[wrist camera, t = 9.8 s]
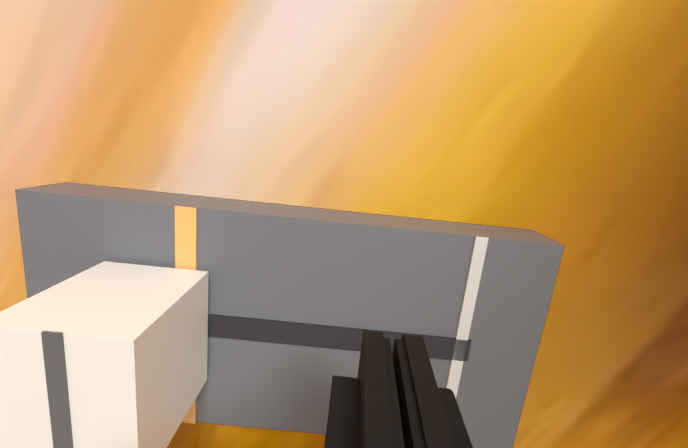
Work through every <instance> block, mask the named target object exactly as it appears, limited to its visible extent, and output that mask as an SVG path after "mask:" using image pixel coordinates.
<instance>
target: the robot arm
mask: <svg viewBox="0 0 688 448" xmlns="http://www.w3.org/2000/svg"><path fill="white" fill-rule="evenodd" d="M324 448H473V446H472V444H471V441H470V438H469V435H468V432H467V429H466V427H465V424H464V421H463V418H462V415H461V412H460V409H459V407H458V404H457V401H456V398H455V395H454V393H453V391H452V390H451V389H448V388H440V387H438V386H437V383H436V379H435V376H434V373H433V369H432V366H431V363H430V359H429V356H428V352H427V349H426V346H425V342H424V339H423V337H422V336H415V335H406V334H403V335H402V337H401V339H395V340H394V345H393V352H392V350H391V343H390V338H386V337H383V332H379V331H370V330H363V336H362V344H361V352H360V360H359V367H358V375H357V378H353V377H344V376H335V375H333V377H332V385H331V394H330V402H329V411H328V420H327V428H326V437H325V445H324Z"/></svg>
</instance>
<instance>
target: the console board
mask: <svg viewBox="0 0 688 448" xmlns="http://www.w3.org/2000/svg"><path fill="white" fill-rule="evenodd" d="M15 193H16V202H17V210H18V219H19V228H20V237H21V245H22V254H23V263H24V271H25V280H26V289H27V298H30V297H32V296H34V295H36V294H38V293H40V292H42V291H44V290H46V289H48V288H50V287H52V286H54V285H56V284H58V283H61V282H63V281H65V280H67V279H69V278H71V277H73V276H75V275H77V274H79V273H81V272H83V271H85V270H87V269H89V268H91V267H93V266H96V265H98V264H100V263H102V262H104V261H107V262H117V263H127V264H137V265H147V266H157V267H167V268H177V269H188V270H198V271H208V272H209V276H208V350H207V381H206V382H205V384H204V386H203V387H202V389H201V391H200V392H199V394H198V396H197V397H196V399H195V401H194V402H193V404H192V406H191V408H190V409H189V411H188V413H187V414H186V416H185V418H184V419H183V421H182V423H190V424H195V423H196V422H199V423H210V424H220V425H231V426H242V427H252V428H263V429H274V430H284V431H295V432H306V433H316V434H326V428H327V420H328V411H329V402H330V394H331V385H332V377H333V375H335V376H344V377H353V378H357V375H358V367H359V360H360V352H361V344H362V336H363V330H370V331H379V332H383V337H386V338H390V343H391V350H392V352H393V345H394V340H395V339H401V337H402V335H403V334H406V335H415V336H422V337H423V339H424V342H425V346H426V349H427V352H428V356H429V359H430V363H431V366H432V369H433V373H434V376H435V379H436V383H437V386H438V387H440V388H448V389H451V390H452V391H453V393H454V395H455V398H456V401H457V404H458V407H459V409H460V412H461V415H462V418H463V421H464V424H465V427H466V429H467V432H468V435H469V438H470V441H471V444H472V446H473V448H513V444H514V440H515V436H516V432H517V429H518V425H519V421H520V417H521V413H522V409H523V405H524V401H525V397H526V394H527V390H528V386H529V382H530V378H531V374H532V370H533V366H534V362H535V359H536V355H537V351H538V347H539V343H540V339H541V335H542V331H543V327H544V324H545V320H546V316H547V312H548V308H549V304H550V300H551V296H552V292H553V289H554V285H555V281H556V277H557V273H558V269H559V265H560V261H561V257H562V254H563V250H564V246H565V245H563V244H561V243H559V242H557V241H554V240H552V239H550V238H548V237H546V236H544V235H542V234H540V233H537V232H535V231H533V230H528V229H518V228H508V227H498V226H488V225H479V224H469V223H459V222H449V221H439V220H430V219H420V218H410V217H400V216H390V215H381V214H371V213H361V212H351V211H341V210H332V209H322V208H312V207H302V206H292V205H283V204H273V203H263V202H253V201H243V200H234V199H224V198H214V197H204V196H194V195H185V194H175V193H165V192H155V191H145V190H136V189H126V188H116V187H106V186H96V185H87V184H77V183H67V182H65V183H58V184H51V185H44V186H36V187H29V188H22V189H15Z"/></svg>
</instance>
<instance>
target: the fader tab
mask: <svg viewBox="0 0 688 448" xmlns="http://www.w3.org/2000/svg"><path fill="white" fill-rule="evenodd" d="M208 276H209V272H208V271H198V270H188V269H177V268H167V267H157V266H147V265H137V264H127V263H117V262H107V261H104V262H102V263H100V264H98V265H96V266H93V267H91V268H89V269H87V270H85V271H83V272H81V273H79V274H77V275H75V276H73V277H71V278H69V279H67V280H65V281H63V282H61V283H58V284H56V285H54V286H52V287H50V288H48V289H46V290H44V291H42V292H40V293H38V294H36V295H34V296H32V297H30V298H28V299H25V300H23V301H21V302H19V303H17V304H15V305H13V306H11V307H9V308H7V309H5V310H3V311H1V312H0V448H167V446H168V444H169V443H170V441H171V439H172V438H173V436H174V434H175V433H176V431H177V429H178V428H179V426H180V424H181V423H182V421H183V419H184V418H185V416H186V414H187V413H188V411H189V409H190V408H191V406H192V404H193V402H194V401H195V399H196V397H197V396H198V394H199V392H200V391H201V389H202V387H203V386H204V384H205V382H206V381H207V350H208Z"/></svg>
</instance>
